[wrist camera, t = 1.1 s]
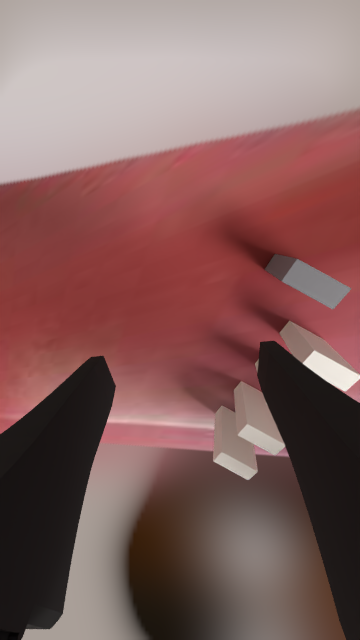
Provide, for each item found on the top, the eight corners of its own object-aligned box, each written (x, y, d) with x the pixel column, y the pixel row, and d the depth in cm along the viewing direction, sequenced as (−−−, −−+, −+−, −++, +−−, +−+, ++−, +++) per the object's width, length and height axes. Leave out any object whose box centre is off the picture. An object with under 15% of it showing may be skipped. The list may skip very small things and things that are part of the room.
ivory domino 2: (241, 380, 27) (247, 424, 21) (271, 397, 27) (286, 445, 21) (233, 390, 28) (237, 435, 22) (262, 406, 28) (275, 455, 22)
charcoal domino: (274, 253, 22) (297, 258, 15) (312, 274, 22) (351, 288, 15) (264, 269, 22) (281, 281, 16) (301, 289, 22) (333, 309, 16)
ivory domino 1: (221, 405, 29) (221, 451, 23) (249, 420, 29) (257, 471, 23) (215, 413, 30) (213, 461, 23) (242, 428, 30) (248, 480, 23)
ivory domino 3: (289, 320, 24) (314, 350, 17) (323, 339, 24) (362, 376, 17) (279, 333, 24) (299, 366, 18) (312, 351, 24) (345, 391, 18)
